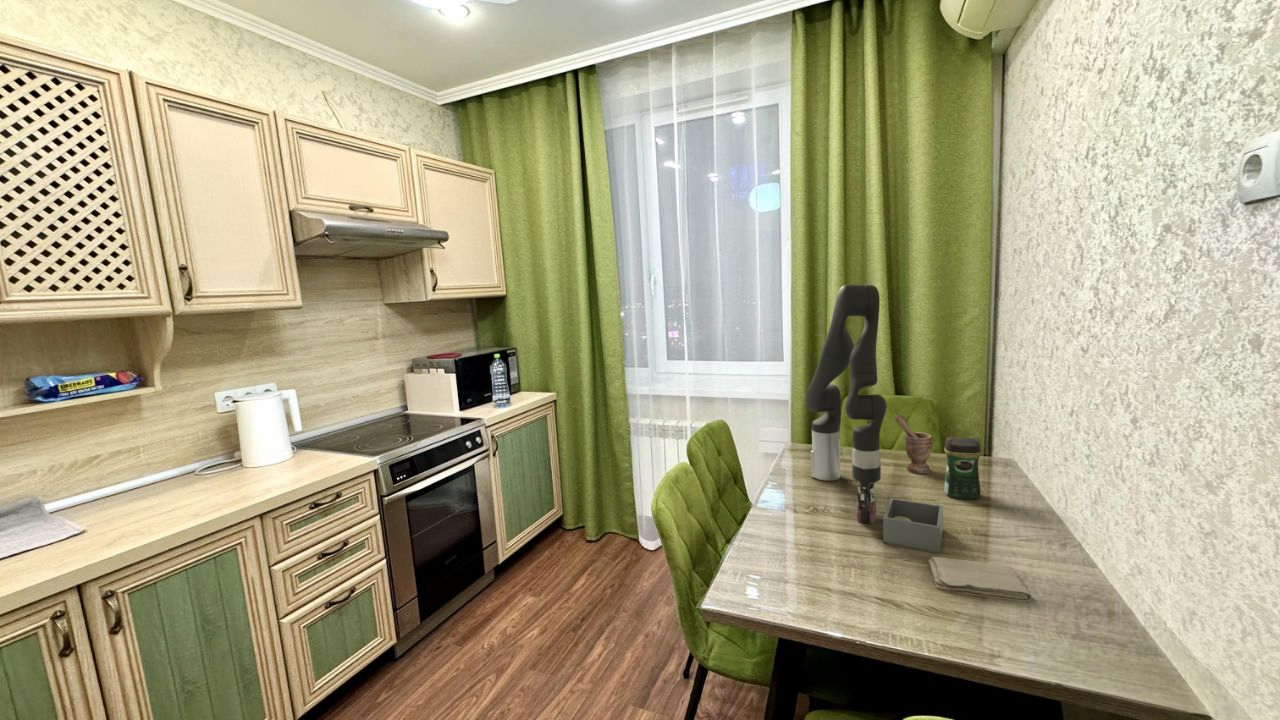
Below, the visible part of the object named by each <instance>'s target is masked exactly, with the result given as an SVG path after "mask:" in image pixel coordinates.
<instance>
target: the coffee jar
mask: <svg viewBox="0 0 1280 720" xmlns="http://www.w3.org/2000/svg"><path fill="white" fill-rule="evenodd" d="M980 445H981V443H980V441H979V440H978V439H977V438H976V437H956V436H953V437H952V436H948V437H946V439H945V444H944V454H945V456H946V469H945V470H946V471H945V478H944V488H943V490H944V493H945V494H946V495H947V496H948V497H950V498H954V499H963V500H978V499H980V497H981V496H982V495H981V494H982V493H981V492H982V491H981V484H980V483H981V482H980V476H979V475H980V474H979V459H980V457H981V455H982V451H981V446H980Z"/></svg>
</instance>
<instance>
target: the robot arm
mask: <svg viewBox="0 0 1280 720" xmlns="http://www.w3.org/2000/svg"><path fill="white" fill-rule="evenodd" d="M880 300H881V299H880V293H879V289H878V288H877V287H876V286H875V285H873V284H844V285H842V286H841V287H840V288H839V290H838V292H837V295H836V298H835V303H834V307H833V312H832V316H831V317H832V318H831V321H830V325H829V329H828V332H827V335H826V338H825V341H824V343H823V347H822V350H821V353H820V357H819V361H818V363H817V367H816V369H815V372H814V375H813V377H812V379H811V381H810V384H809V386H808V388H807V391H806V394H805V403H806V407H807V409H808V410H809V411H811V412H812V413H823V414H822V415H821V416H820V417H818V418H816V419H814V420H813V421H812V422H811V438H812V439H811V446H812V450H810V473H811V476H810V477H811V478H814V479H817V480H820V481H825V482H826V481H827V482H831V481H837V480H839V479H840V478H841V450H840V449H841V448H840V445H841V443H840V441H841V439H840V425H841V420H842V419H841V418H842V417H841V415H842V394H841V390H840V388H839V387H838V385H836V384H831V383H832V382H834V381H835V380H836V379H837V378H838V377H839V376H840V375H842V374H843V373H844V372H845V371H846V369H848V367H849V373H850V382H849V390H848V395H847V397H846V402H845V414H846V416H847V417H848V418H849V419H851V420H861V421H862V420H863V421H865V420H866V421H867V420H868V421H869V420H870V421H869V422H868V423H867V424H864V425H859V426H856V427H854V428H853V429H852V451H851V463H852V464H851V470H852V471H851V472H852V475H851V476H852V477H851V478H853V479H854V480H855V481H858V482H859V485H857V491H858V492H857V505H859V508H858V509H859V511H861V522H860V523H864V524H868V523H869V522H870V503H872V501H873V502H874V499H875V487H876V484H875V483H877V482H879V481H880V480H881V478H882V477H881V476H882V473H881V472H882V466H881V462H882V461H881V459H882V458H881V456H882V455H881V450H880V449H881V447H880V441H881V440H880V439H881V438H880V437H881V436H880V435H881V429H882V424H883V421H884V419H885V415H886V412H887V408H888V407H887V402H886V399H885V398H884V397H883V395H881V394H859V393H860V390H862V389H865V388H868V387H870V388H871V387H873V386H876V385H877V383H878V368H877V365H878V364H877V341H878V340H877V339H878V330H879V329H878V328H879V319H880V318H879V317H880V316H879V315H880V305H881V304H880ZM849 317H864V325H863V330H862V331H861V334H860V336H859V338H858V339H857V341H856V343H855V344H854V341H853V340H852V339H853V338H852V337H851V335H850V333H849V332H848V329H847V326H846V323H847V319H848V318H849ZM863 505H865V506H866V507H865V506H863Z"/></svg>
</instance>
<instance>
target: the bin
mask: <svg viewBox="0 0 1280 720" xmlns="http://www.w3.org/2000/svg"><path fill="white" fill-rule="evenodd" d="M897 516H902V517H906V518H909V519H910V520H911V521H905V520H899V519H893V518H894V517H897ZM882 519H883V520H882V524H883V525H882V526H883V527H882V531H883V532H882V533H883V535H882V536H883V537H882V539H883V541H882V543H883V544H887V545H892V546H897V547H903V548H908V549H913V550H919V551H924V552H928V553H932V554H933V553H934V554H939V555H940V554H941V547H942V540H943V539H942V538H943V532H944V531H943V530H944V527H943V526H944V525H943V524H944V523H943V522H944V505H942V504H941V505H940V504H935V503H934V504H933V503H927V502H922V501H913V500H907V499H901V498H895V497H890V498H889V501H888V504H887V506H886V509H885V511H884V515H883V518H882Z"/></svg>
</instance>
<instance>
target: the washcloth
mask: <svg viewBox="0 0 1280 720" xmlns="http://www.w3.org/2000/svg"><path fill="white" fill-rule="evenodd" d="M927 562H928V563H929V564H930V570H931V571H930V572H931V574H932V576H933V580H934V584H935V586H936V588H937V589H940V590H943V591H946V592H952V593H957V594H962V595H963V594H965V595H972V596H980V597H988V598H994V599H1001V600H1010V601H1017V602H1018V601H1019V602H1030V601H1031V600H1032V599H1033V596H1032V593H1031V592H1030V590H1029V589H1027V587H1026V586H1025V585H1024V584H1023V583H1022V579H1021V578H1020V576H1019V573H1017V571H1016V570H1015V568H1014V567H1012V566H1011V565H1006V564H1000V563H997V564H996V563H989V562H984V561H974V560H967V559H965V560H964V559H956V558H948V557H947V558H946V557H939V556H932V557H931V558H929V559H928V561H927Z"/></svg>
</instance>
